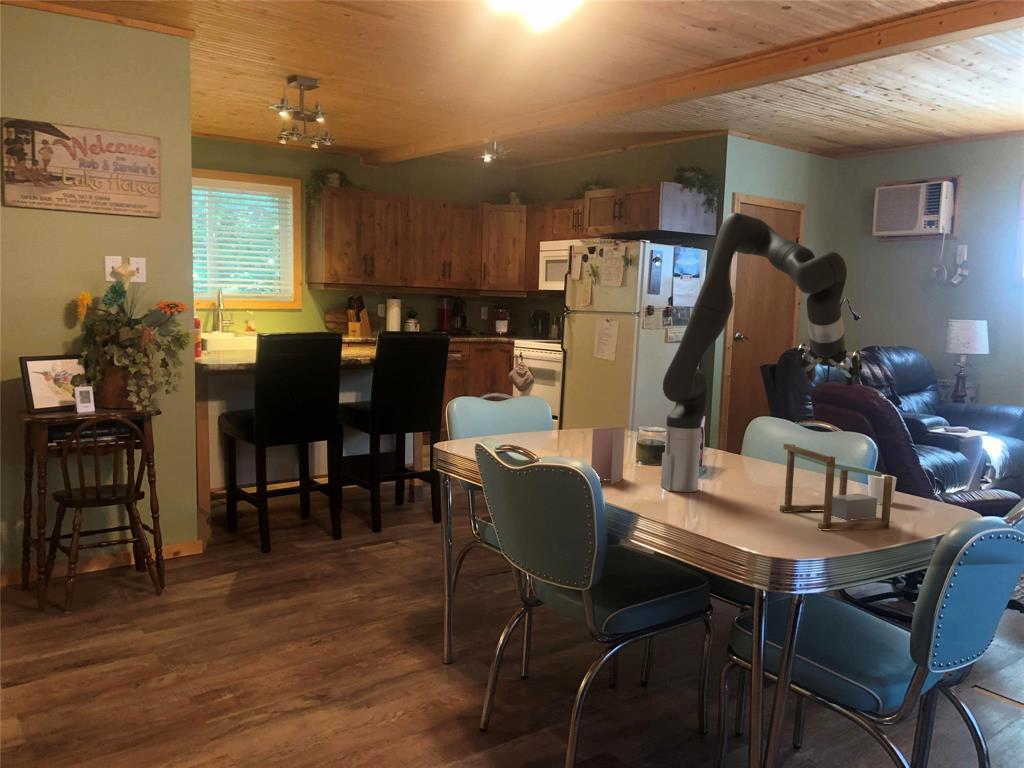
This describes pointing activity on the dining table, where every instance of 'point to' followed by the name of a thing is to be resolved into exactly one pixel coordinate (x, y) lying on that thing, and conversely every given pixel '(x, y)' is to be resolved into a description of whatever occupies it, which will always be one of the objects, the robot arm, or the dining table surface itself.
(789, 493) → the frame
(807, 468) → the dining table surface
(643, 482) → the dining table surface
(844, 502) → the granite block
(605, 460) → the greeting card
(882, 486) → the white cup
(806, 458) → the trapdoor
